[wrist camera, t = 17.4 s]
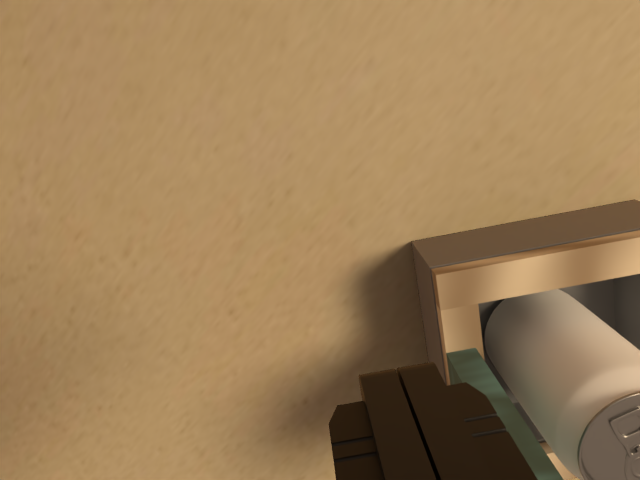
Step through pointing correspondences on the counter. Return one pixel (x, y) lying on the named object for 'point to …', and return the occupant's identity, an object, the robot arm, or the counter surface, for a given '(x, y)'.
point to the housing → (599, 297)
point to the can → (571, 381)
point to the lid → (511, 281)
